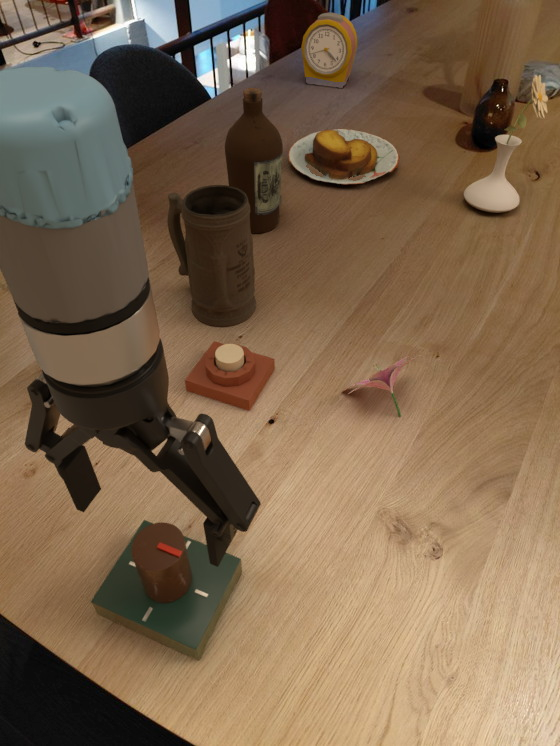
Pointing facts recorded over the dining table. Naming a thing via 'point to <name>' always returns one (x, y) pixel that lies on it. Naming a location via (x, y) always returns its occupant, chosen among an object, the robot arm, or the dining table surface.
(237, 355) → the button
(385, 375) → the lily
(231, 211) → the beer stein
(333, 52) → the alarm clock
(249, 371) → the button block
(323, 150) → the food on plate
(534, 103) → the flower in vase
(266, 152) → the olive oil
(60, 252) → the robot arm
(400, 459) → the dining table surface
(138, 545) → the knob
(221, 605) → the panel
